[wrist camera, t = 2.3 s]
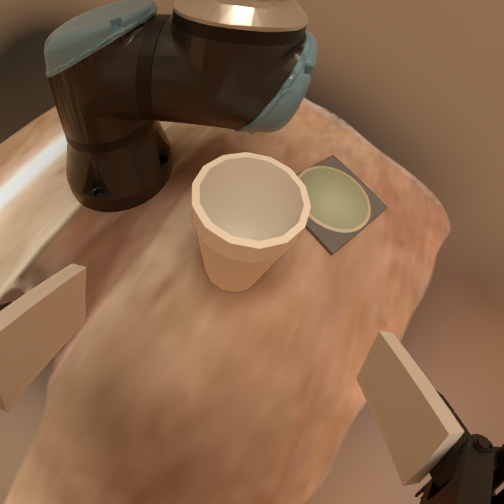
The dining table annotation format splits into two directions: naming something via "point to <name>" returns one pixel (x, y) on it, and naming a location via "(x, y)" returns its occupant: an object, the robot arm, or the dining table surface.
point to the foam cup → (246, 216)
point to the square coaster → (337, 203)
